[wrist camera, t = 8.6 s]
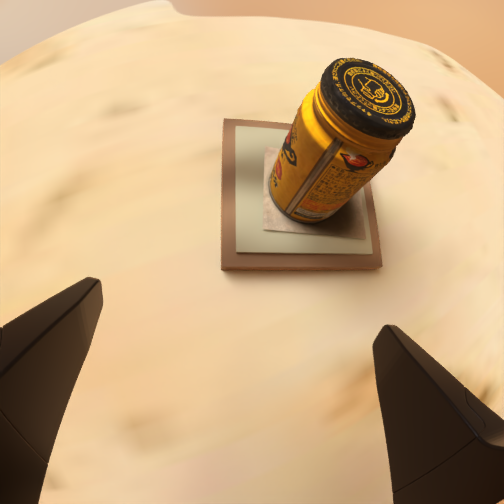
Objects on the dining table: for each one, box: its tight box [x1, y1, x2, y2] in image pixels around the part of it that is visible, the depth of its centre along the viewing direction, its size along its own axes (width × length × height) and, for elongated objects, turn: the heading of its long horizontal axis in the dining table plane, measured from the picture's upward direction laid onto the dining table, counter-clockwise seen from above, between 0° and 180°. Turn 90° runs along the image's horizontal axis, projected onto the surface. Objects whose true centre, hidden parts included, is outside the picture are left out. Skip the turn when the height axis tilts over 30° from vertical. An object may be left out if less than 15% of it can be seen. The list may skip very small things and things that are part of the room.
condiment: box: [262, 58, 416, 239], centre depth 18 cm, size 7×8×12 cm
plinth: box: [221, 119, 382, 270], centre depth 25 cm, size 13×13×2 cm
